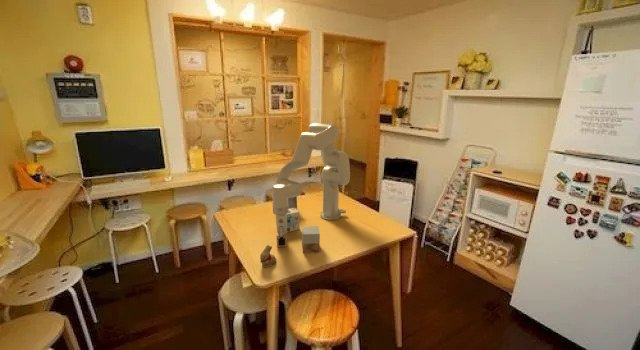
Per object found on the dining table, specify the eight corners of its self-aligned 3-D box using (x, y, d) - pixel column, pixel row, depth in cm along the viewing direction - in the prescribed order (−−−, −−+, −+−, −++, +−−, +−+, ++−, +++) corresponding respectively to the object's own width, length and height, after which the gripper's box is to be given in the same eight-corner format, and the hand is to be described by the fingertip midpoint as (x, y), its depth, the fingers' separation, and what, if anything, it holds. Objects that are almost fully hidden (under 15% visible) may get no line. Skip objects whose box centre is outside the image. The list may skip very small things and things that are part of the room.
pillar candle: (290, 208, 189) (289, 186, 184) (300, 212, 182) (299, 190, 178) (278, 212, 182) (277, 190, 178) (288, 217, 176) (287, 194, 171)
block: (286, 241, 148) (286, 230, 146) (287, 246, 143) (286, 235, 141) (277, 241, 147) (276, 231, 146) (276, 246, 142) (276, 235, 141)
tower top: (318, 235, 144) (318, 226, 143) (319, 243, 136) (319, 233, 135) (302, 235, 143) (302, 226, 142) (302, 243, 136) (302, 234, 134)
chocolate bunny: (258, 263, 129) (257, 243, 126) (275, 258, 132) (274, 239, 129) (261, 269, 124) (260, 249, 121) (279, 265, 127) (278, 245, 125)
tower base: (317, 243, 146) (317, 235, 144) (319, 252, 138) (319, 243, 137) (302, 244, 145) (301, 235, 143) (302, 253, 137) (302, 244, 136)
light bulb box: (282, 233, 156) (281, 215, 153) (278, 228, 161) (277, 210, 158) (300, 229, 160) (299, 211, 157) (295, 224, 166) (295, 207, 163)
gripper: (288, 216, 132) (289, 250, 137) (287, 202, 148) (288, 233, 154) (272, 217, 131) (274, 251, 136) (273, 203, 147) (274, 234, 153)
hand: (281, 242), depth 145 cm, fingers closed on block, 5 cm apart
